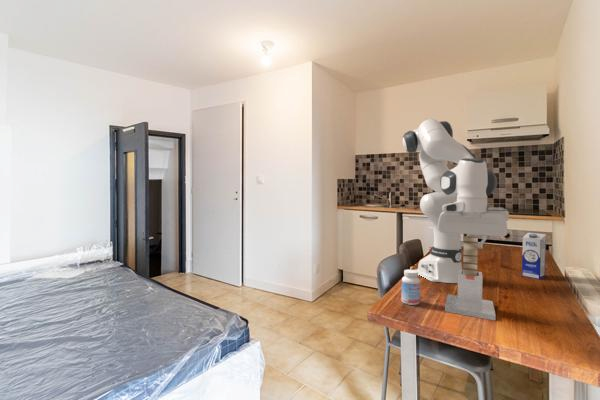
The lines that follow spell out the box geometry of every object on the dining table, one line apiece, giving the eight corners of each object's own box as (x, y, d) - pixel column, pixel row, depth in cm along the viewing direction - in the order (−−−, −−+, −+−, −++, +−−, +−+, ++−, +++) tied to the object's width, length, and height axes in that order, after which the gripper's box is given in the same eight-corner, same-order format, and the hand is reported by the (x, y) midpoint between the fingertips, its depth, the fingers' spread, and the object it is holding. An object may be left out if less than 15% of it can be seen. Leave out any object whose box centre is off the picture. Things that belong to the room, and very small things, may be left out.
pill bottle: (411, 306, 103) (411, 274, 102) (397, 301, 108) (398, 270, 108) (423, 303, 105) (423, 272, 105) (409, 298, 111) (410, 268, 111)
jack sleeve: (444, 311, 99) (445, 275, 98) (447, 298, 111) (448, 266, 111) (495, 320, 92) (496, 281, 92) (492, 305, 104) (493, 271, 104)
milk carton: (545, 277, 138) (546, 233, 137) (539, 279, 134) (541, 235, 134) (527, 273, 144) (528, 232, 143) (521, 275, 140) (522, 233, 139)
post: (462, 287, 100) (463, 237, 100) (462, 284, 104) (463, 235, 104) (477, 289, 98) (478, 238, 98) (476, 286, 102) (477, 236, 101)
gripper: (507, 207, 98) (506, 249, 99) (439, 205, 108) (438, 243, 109) (510, 208, 93) (509, 252, 93) (437, 206, 103) (436, 246, 103)
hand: (470, 247), depth 101 cm, fingers closed on post, 4 cm apart
